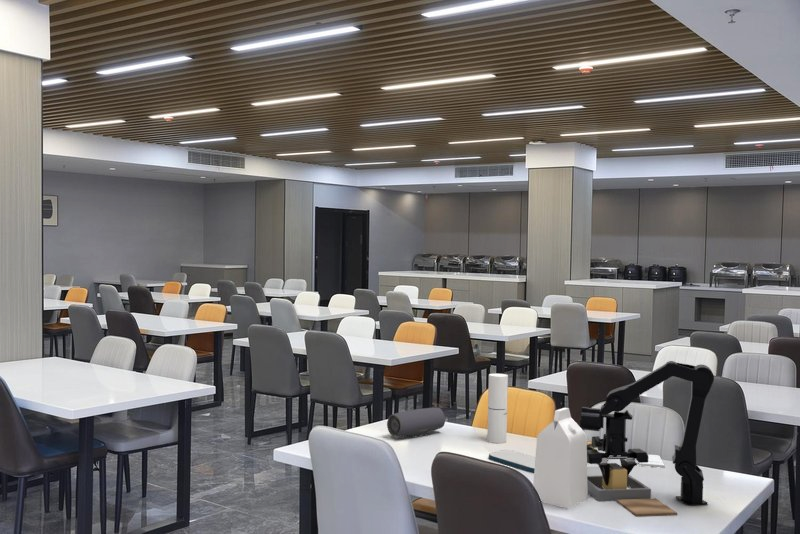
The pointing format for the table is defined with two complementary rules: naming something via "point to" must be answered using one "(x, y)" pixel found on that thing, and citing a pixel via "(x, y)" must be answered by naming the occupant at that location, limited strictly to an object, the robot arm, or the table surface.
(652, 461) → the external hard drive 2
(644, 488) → the equipment case
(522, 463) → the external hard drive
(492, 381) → the cylindrical container
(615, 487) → the ochre module
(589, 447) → the burger
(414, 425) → the bluetooth speaker
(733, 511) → the table surface
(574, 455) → the milk
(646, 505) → the walnut board
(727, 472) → the table surface
